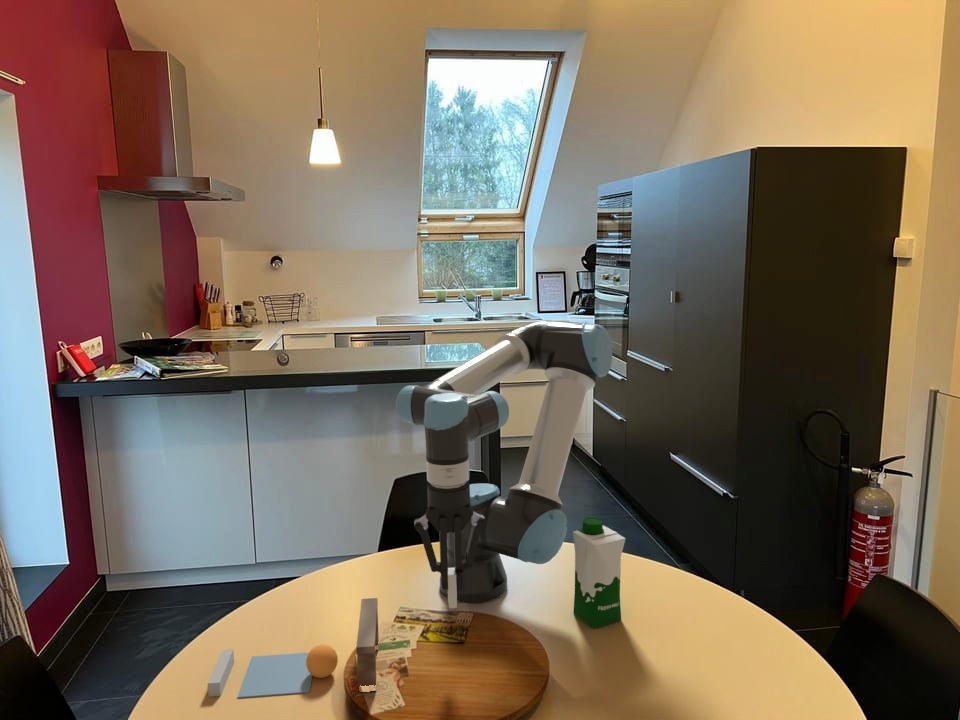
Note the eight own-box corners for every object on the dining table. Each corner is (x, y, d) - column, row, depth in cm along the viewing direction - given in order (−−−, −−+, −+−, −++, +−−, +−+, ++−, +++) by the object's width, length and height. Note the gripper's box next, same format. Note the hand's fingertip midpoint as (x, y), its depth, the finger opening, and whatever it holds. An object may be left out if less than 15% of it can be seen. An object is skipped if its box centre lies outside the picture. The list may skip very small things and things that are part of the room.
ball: (341, 641, 129) (331, 669, 129) (312, 635, 128) (302, 662, 128) (342, 658, 124) (332, 687, 124) (311, 652, 122) (301, 680, 123)
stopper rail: (223, 662, 130) (222, 650, 130) (234, 661, 130) (233, 649, 130) (208, 696, 120) (207, 683, 120) (220, 695, 121) (219, 682, 120)
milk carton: (601, 602, 151) (602, 513, 148) (628, 621, 143) (630, 528, 140) (567, 612, 147) (568, 521, 144) (593, 633, 139) (595, 537, 136)
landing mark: (252, 657, 132) (251, 656, 132) (317, 652, 133) (317, 651, 133) (237, 698, 120) (237, 697, 120) (309, 692, 121) (309, 691, 121)
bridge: (358, 697, 120) (356, 647, 119) (363, 643, 136) (361, 598, 135) (376, 695, 120) (374, 646, 119) (378, 642, 137) (377, 597, 135)
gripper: (411, 491, 120) (417, 618, 124) (487, 486, 121) (490, 612, 126) (410, 476, 127) (416, 596, 132) (482, 472, 129) (485, 590, 133)
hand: (452, 604), depth 129 cm, fingers closed
